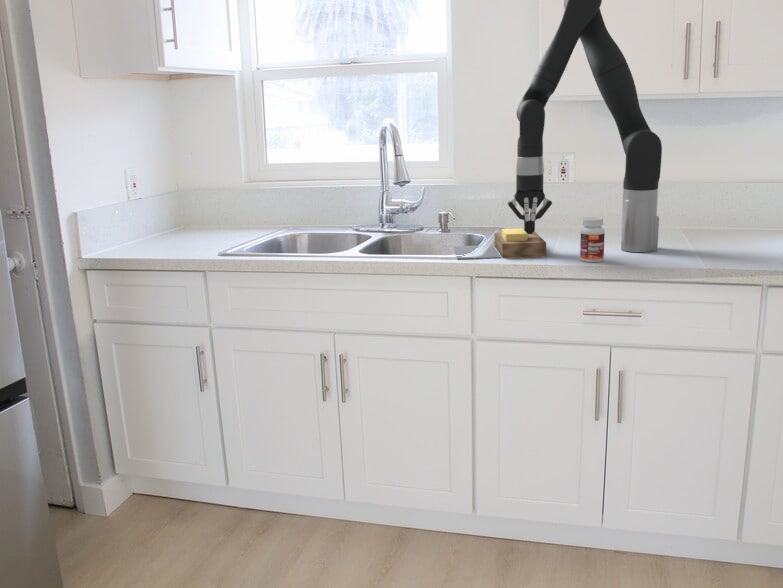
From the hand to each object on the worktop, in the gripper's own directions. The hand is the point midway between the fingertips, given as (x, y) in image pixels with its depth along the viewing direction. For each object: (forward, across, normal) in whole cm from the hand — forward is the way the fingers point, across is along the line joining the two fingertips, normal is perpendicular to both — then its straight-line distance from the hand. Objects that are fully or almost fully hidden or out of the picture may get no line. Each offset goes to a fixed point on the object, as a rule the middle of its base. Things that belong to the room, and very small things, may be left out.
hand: (529, 233), depth 214 cm
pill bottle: (+5, -14, +15) cm, 21 cm away
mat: (+5, +15, -1) cm, 16 cm away
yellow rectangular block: (+1, +4, 0) cm, 4 cm away
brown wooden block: (+5, +3, -1) cm, 6 cm away
